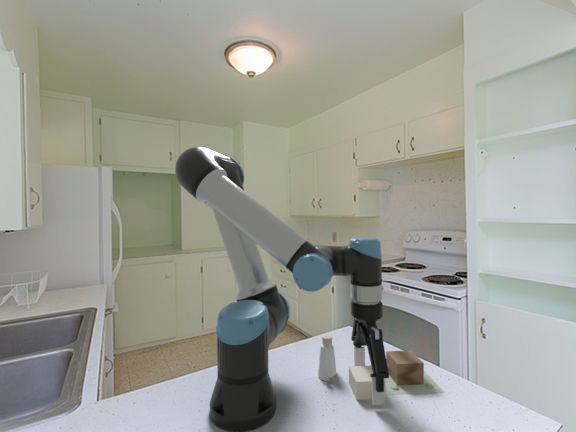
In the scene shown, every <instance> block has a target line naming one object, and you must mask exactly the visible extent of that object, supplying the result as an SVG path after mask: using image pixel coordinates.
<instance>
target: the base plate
mask: <svg viewBox="0 0 576 432" xmlns="http://www.w3.org/2000/svg"><path fill="white" fill-rule="evenodd" d="M369 366H371V364H369ZM385 392H387V394H388V395H389V396H390V395H391V396H392V395H395V396H397V395H409V394H410V395H413V394H414V395H415V394H433V393H436V394H437V393H445V391H444V390H443V388H441V386H439V384H437V382H436V381H435V380H434V379H433V378H432V376H430V375H429V374H428V373H427V372H426V371H425V370H424V384H422V385H399V386H397V385H396V383H395V382H394V381H393V379H392V378H391V377H390V375H389V378H385Z"/></svg>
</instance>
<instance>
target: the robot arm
mask: <svg viewBox="0 0 576 432" xmlns="http://www.w3.org/2000/svg"><path fill="white" fill-rule="evenodd" d="M174 173H175V177H176V179H177V182H178V183H179V184H180V186H181V187H183V189H184V190H185V191H186V192H188V194H190V196H192V197H193V198H195V199H196V200H197V201H198V202H200V203H204V205H205V206H206V207H208V208H210V209H211V210H212V212H213V214H214V218H215V220H216V224H217V226H218V231H219V233H220V236H221V239H222V241H223V242H222V243H223V245H224V248H225V250H226V254H227V257H228V260H229V263H230V268H231V270H232V273H233V275H234V278H235V282H236V284H237V288H238V293H237V295H236V297H235V300H236V302H231V303H229V304H227V305H225V306H224V307H223V308H222V309H221V310H220V311H219V313H218V315H217V324H216V329H215V331H216V351H217V352H216V355H217V356H216V359H217V363H216V364H217V378H216V380H215V384H214V388H213V391H212V394H211V397H210V401H209V417H210V419H211V421H212V422H213V424H214V425H215V426H217V427H218V428H220V429H222V430H225V431H230V432H245V431H250V430H253V429H254V430H255V429H257V428H259V427H261V426H264V425H265V424H267V422H269V421H270V420H271V419H272V417H273V416H275V415H274V414H275V413H276V410H277V395H276V391H275V389H274V385H273V382H272V380H271V377H270V373H269V348H270V346H271V345H272V344H273V342H274V341H275V340H276V339H277V337H278V336H279V335H280V334H282V332H283V331H284V330H285V328H286V326H287V324H288V322H289V320H290V315H291V309H290V304H289V301H288V299H287V298H286V296H284V295H283V293H281V292H279V290H278V287H277V283H276V282H274V281H271V280H270V279H269V277H268V274H267V271H266V268H265V265H264V263H263V259H262V256H261V253H260V249H259V247H261V249H263V250H264V251H265V252H266V253H268V254H269V255H270V256H271V257H272V258H274V259H275V260H277V262H279V263H280V264H281V265H282V266H283V267H285V269H287V270H288V271H289V272H291V273H292V278H293V280H294V282H295V284H296V285H297V286H298V287H299V288H300V289H302V290H303V291H306V292H311V293H313V292H314V293H315V292H317V291H320V290H322V289H324V288H325V286H326V285H328V284H330V282H331V281H332V279H333V278H332V277H333V276H335V277H350V283H349V284H350V287H349V288H350V290H349V291H350V299H351V302H350V311H351V312H350V314H351V316H352V317H353V325H352V331H351V337H350V339H351V340H350V341H352V345H353V352H354V353H353V355H354V366H366V347H367V351H368V355H369V361H370V365H371V366H372V371H373V374H371V375H370V376H371V377H372V400H371V403H372V405H373V406H375V405H377V406H378V405H379V406H381V405H386V389H385V378H389V373H388V367H387V361H386V351H385V346H384V339H383V330H382V329H380V328H379V329H378V325H377V323H376V322H377V321H379V320H381V319H382V318H383V317H384V316H383V314H384V312H383V302H382V300H383V291H384V286H383V285H382V284H383V283H382V281H383V278H382V277H383V275H382V273H383V272H382V268H383V267H382V263H383V262H382V259H383V258H382V257H383V256H382V248H381V247H382V246H381V241H380V240H379V239H378V238H375V237H352V238H351V239H350V240H349V244H348V245H342V246H341V245H318V244H316V245H313V244H312V243H311V242H309V241H308V240H307V239H306V238H304V237H303V236H302V235H300V234H299V233H298V232H297V231H296V230H294V229H293V228H291V226H289V225H288V224H287V223H285V222H284V221H283V220H281V219H280V217H278V216H276V215H275V214H274V213H273V212H272V211H270V210H269V209H268V208H266V207H265V206H264V205H263V204H261V203H260V202H259V201H257V200H256V199H255V198H254V197H252V196H251V195H250V194H249V193H248V192H246V191H245V190H244V189H245V188H244V182H245V173H244V169H243V167H242V166H241V164H240V163H239V162H238V161H237V160H236V159H234V158H233V157H231V156H229V155H227V154H223V153H219V152H217V151H214V150H212V149H209V148H206V147H203V146H194V147H190V148H188V149H185V150H184V151H183V152H182V153H181V154H180V155H179V156H178V157H177V160H176V163H175V170H174ZM258 246H259V247H258ZM365 346H366V347H365Z"/></svg>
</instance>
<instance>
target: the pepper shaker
mask: <svg viewBox="0 0 576 432" xmlns="http://www.w3.org/2000/svg"><path fill="white" fill-rule="evenodd" d="M321 339H322V340H321V341H322V343H321V344H320V349H319V359H318V368H317V369H318V370H317V376H318V379H320V380H322V381H324V382H331V378H334V377H335V376H337V365H336V354H335V346H334V344H333V337H332V335H330V334H323V335H322V337H321Z"/></svg>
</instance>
